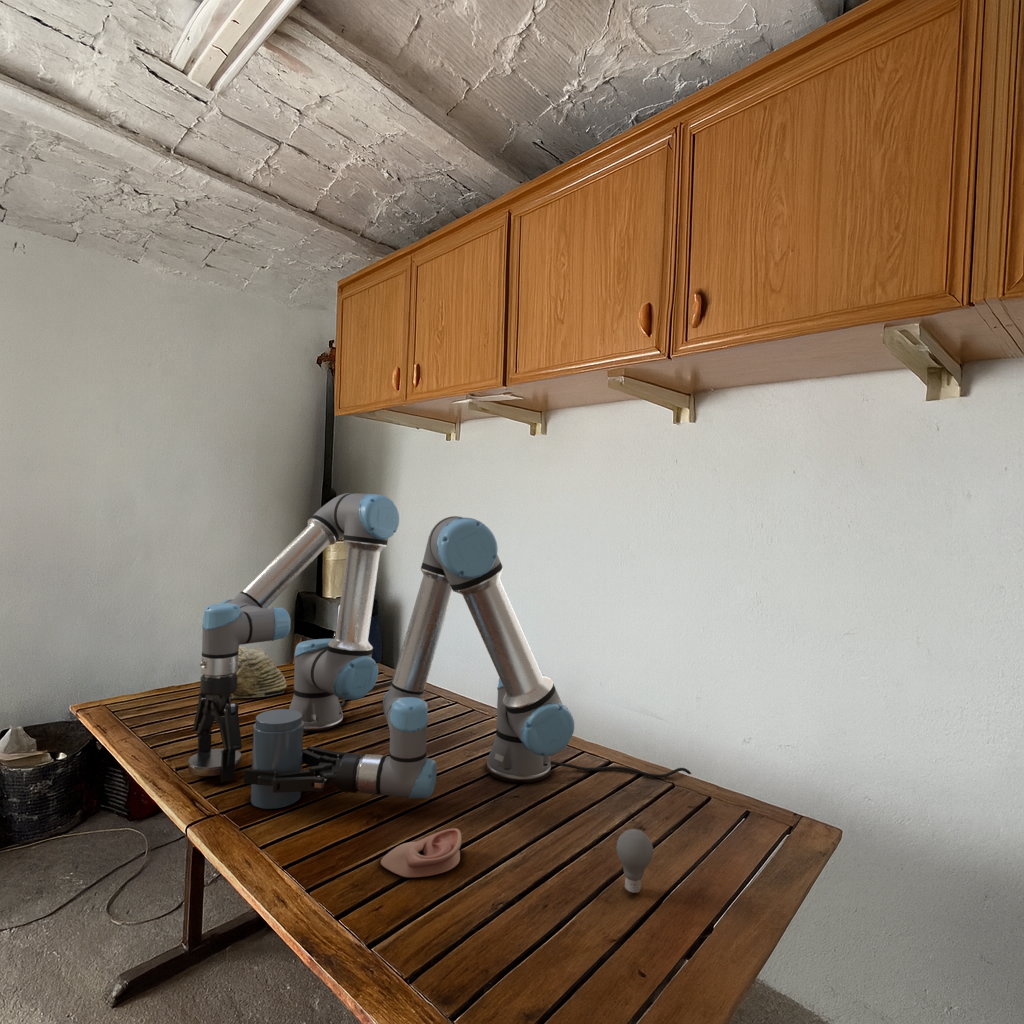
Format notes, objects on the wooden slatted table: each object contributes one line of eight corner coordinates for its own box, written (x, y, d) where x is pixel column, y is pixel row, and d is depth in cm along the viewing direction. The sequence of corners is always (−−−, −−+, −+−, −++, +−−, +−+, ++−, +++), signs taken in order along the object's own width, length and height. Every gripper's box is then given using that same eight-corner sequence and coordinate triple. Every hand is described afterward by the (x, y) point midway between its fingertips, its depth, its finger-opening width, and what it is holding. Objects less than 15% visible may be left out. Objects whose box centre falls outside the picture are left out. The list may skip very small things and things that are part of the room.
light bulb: (610, 879, 108) (613, 822, 108) (644, 879, 109) (647, 822, 109) (619, 902, 102) (622, 840, 102) (655, 901, 103) (658, 840, 103)
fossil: (218, 695, 195) (220, 647, 195) (278, 685, 208) (279, 640, 207) (228, 703, 189) (230, 653, 188) (289, 692, 201) (290, 645, 201)
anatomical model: (374, 849, 108) (399, 816, 119) (373, 872, 108) (398, 837, 119) (448, 861, 105) (467, 826, 116) (447, 885, 105) (466, 848, 116)
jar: (308, 788, 137) (311, 709, 137) (289, 810, 127) (293, 725, 127) (263, 785, 138) (266, 707, 138) (241, 807, 128) (244, 722, 128)
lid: (192, 758, 145) (192, 750, 145) (243, 754, 148) (243, 746, 148) (184, 778, 135) (184, 769, 135) (238, 774, 138) (239, 765, 138)
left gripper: (179, 666, 146) (175, 761, 146) (227, 688, 131) (223, 794, 131) (212, 660, 152) (208, 752, 152) (261, 681, 137) (257, 783, 137)
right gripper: (341, 818, 120) (228, 808, 122) (376, 768, 142) (280, 760, 144) (342, 779, 120) (229, 769, 122) (377, 735, 142) (282, 728, 144)
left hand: (215, 771), depth 142 cm, fingers closed on lid, 11 cm apart
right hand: (257, 765), depth 133 cm, fingers closed on jar, 10 cm apart
